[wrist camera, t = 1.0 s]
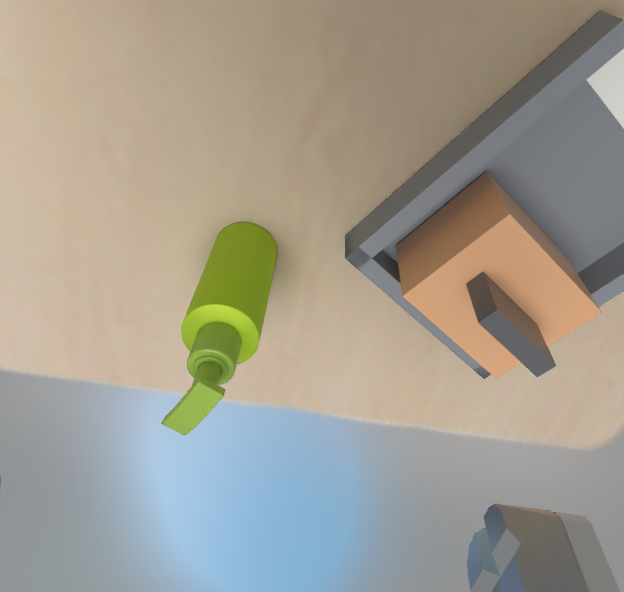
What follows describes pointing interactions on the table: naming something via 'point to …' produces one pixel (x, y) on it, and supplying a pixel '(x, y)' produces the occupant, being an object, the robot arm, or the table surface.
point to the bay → (529, 170)
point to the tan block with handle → (493, 280)
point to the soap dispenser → (224, 318)
